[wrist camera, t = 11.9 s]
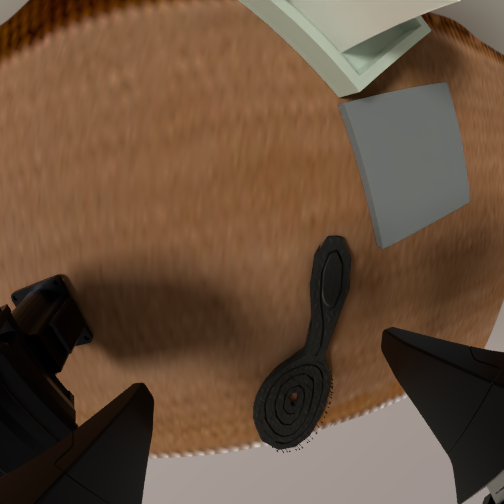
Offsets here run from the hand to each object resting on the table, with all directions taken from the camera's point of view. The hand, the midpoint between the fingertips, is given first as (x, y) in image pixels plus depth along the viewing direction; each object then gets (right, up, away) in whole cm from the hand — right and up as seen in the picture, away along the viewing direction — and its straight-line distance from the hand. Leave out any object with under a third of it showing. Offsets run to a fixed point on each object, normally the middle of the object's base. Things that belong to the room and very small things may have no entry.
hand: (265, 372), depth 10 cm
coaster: (+13, +12, +11) cm, 21 cm away
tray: (+6, +22, +6) cm, 24 cm away
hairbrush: (+4, -6, +17) cm, 19 cm away
